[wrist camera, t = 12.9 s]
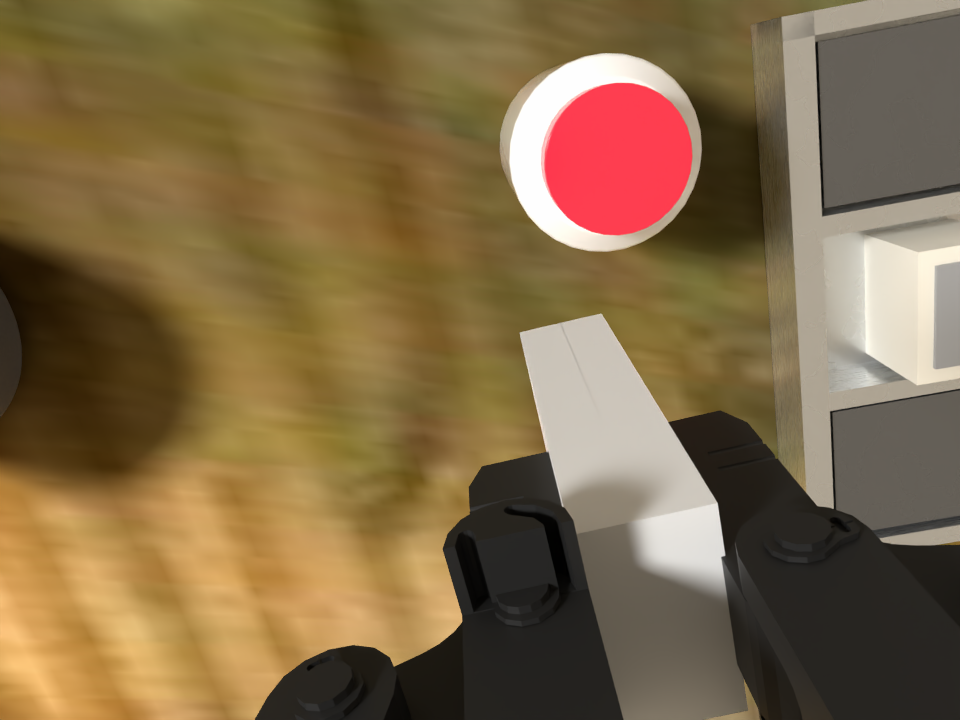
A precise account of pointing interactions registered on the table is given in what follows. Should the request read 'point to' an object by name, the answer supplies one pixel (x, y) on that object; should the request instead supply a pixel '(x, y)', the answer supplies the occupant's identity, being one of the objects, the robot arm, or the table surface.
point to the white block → (914, 300)
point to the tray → (857, 250)
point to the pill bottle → (601, 150)
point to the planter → (8, 354)
